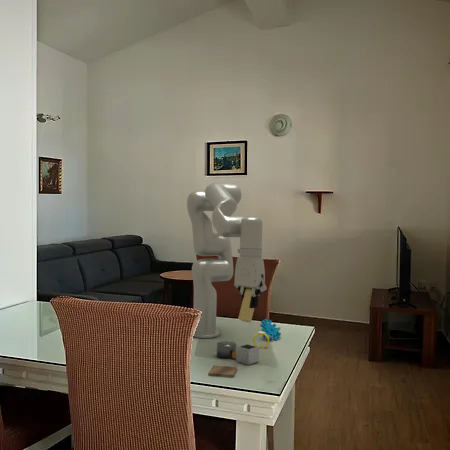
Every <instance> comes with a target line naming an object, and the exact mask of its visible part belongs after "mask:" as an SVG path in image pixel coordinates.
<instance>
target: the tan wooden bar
mask: <svg viewBox="0 0 450 450" xmlns="http://www.w3.org/2000/svg"><path fill="white" fill-rule="evenodd" d="M251 296H252V288H250V287H246V290H245V294H244V298H243V302H242V301H241V306H240V310H239V314H238V319H237V320H240V321H242V322H246V323H251V322H252V320H253V315H254V312H255V308H251Z"/></svg>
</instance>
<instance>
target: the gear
mask: <svg viewBox="0 0 450 450" xmlns="http://www.w3.org/2000/svg"><path fill="white" fill-rule="evenodd" d="M272 323H273V321H272V320H271V319H269V320H268V319H267V318H265V319H263V320H261V321H260V326H259V327H261V331H262V332H265V334H267V335H268V337H269V340H271V341H272V340H274V341H278V340H279V339H281V335H282V333H281V332H280V330H281V327H280V326H278V327H277V324H276V323H275V322H274V323H273V324H272ZM262 337H263V338H267V337H266V336H265V335H262Z"/></svg>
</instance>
